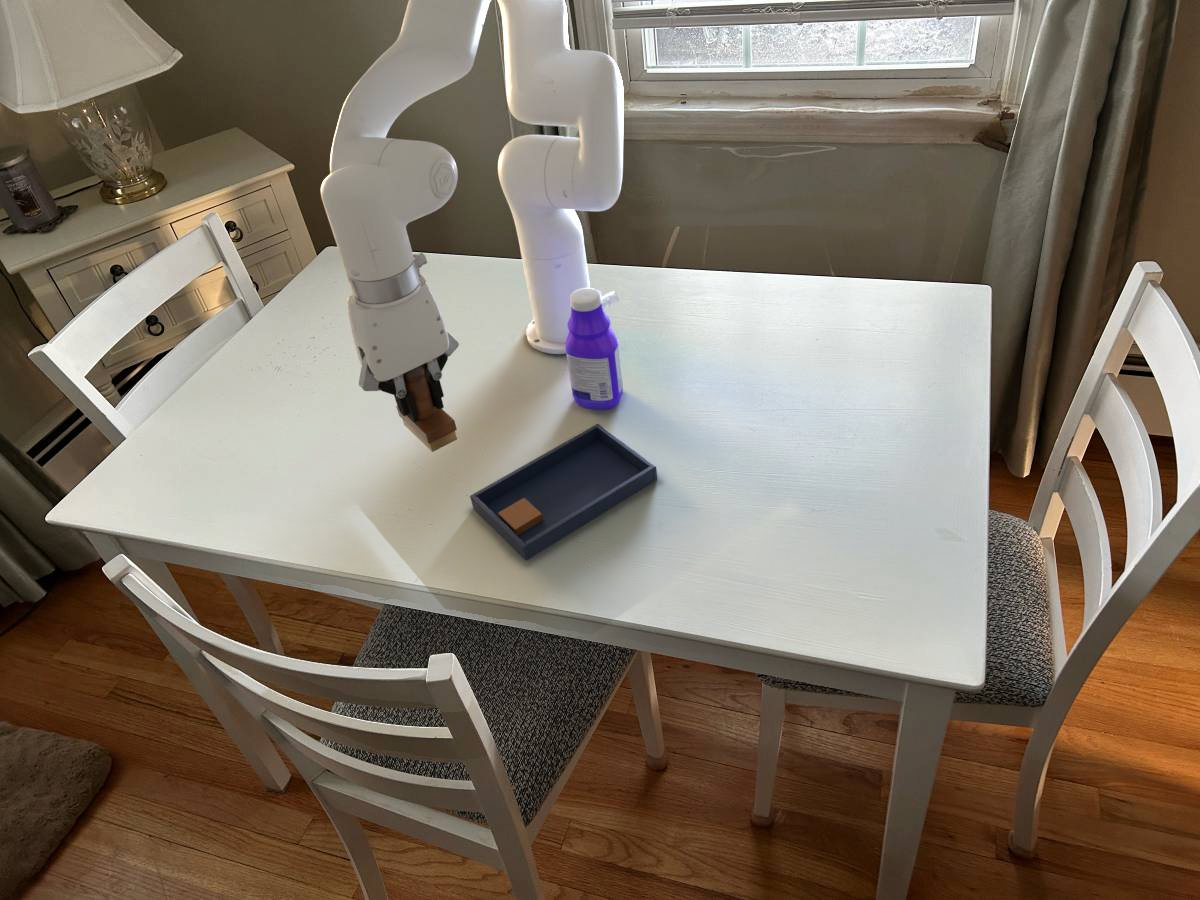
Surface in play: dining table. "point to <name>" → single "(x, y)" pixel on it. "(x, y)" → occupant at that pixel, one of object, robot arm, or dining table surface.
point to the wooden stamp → (427, 413)
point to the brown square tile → (520, 516)
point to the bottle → (592, 353)
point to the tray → (566, 488)
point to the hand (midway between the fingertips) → (423, 409)
